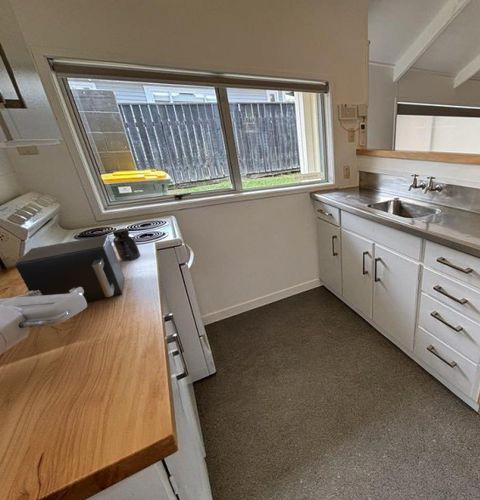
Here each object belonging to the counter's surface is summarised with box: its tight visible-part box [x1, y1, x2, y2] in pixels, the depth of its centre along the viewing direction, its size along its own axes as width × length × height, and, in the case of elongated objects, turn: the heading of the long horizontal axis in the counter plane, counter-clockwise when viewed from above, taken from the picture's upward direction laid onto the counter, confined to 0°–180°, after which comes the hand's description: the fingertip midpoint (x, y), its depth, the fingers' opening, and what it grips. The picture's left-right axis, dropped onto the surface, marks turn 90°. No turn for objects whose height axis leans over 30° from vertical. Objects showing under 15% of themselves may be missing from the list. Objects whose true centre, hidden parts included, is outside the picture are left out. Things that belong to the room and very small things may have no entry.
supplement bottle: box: [112, 228, 141, 262], centre depth 113 cm, size 7×7×12 cm
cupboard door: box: [14, 247, 123, 305], centre depth 78 cm, size 7×18×16 cm, turn 124°
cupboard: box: [15, 234, 126, 294], centre depth 86 cm, size 13×18×16 cm
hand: (59, 291), depth 66 cm, fingers open, 8 cm apart
